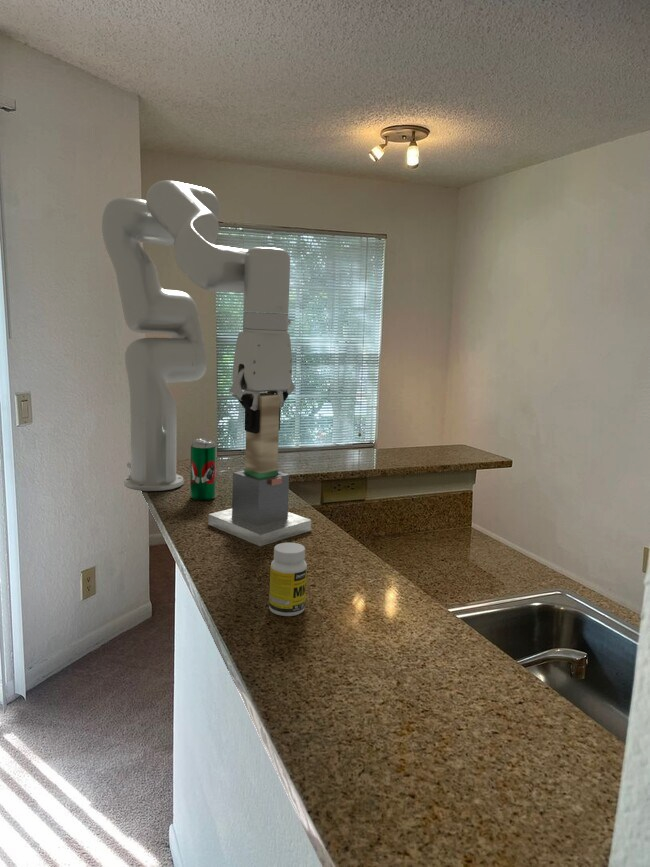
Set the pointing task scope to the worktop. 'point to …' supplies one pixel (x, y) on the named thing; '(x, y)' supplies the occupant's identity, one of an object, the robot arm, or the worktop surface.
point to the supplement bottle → (288, 580)
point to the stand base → (260, 510)
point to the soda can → (203, 470)
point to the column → (264, 439)
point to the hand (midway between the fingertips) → (262, 429)
